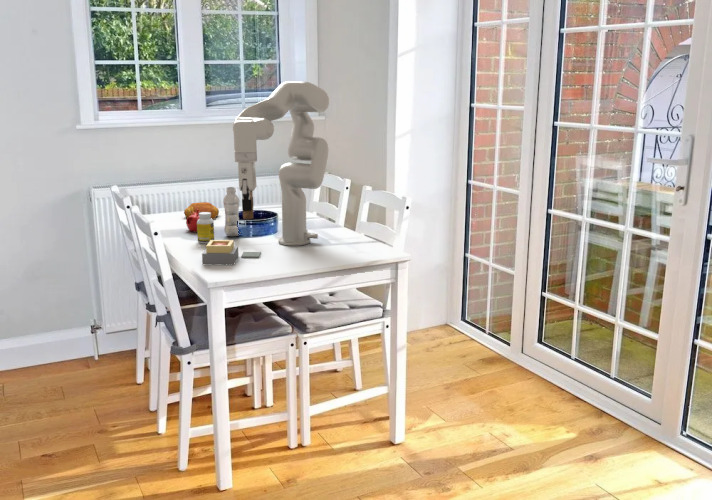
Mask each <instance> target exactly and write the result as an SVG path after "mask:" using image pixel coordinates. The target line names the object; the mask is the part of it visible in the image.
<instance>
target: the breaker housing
mask: <svg viewBox="0 0 712 500" xmlns="http://www.w3.org/2000/svg"><path fill="white" fill-rule="evenodd" d="M234 241H235V240H233V239H230V240H229V239H226V240H225V239H218V240H217V239H214V240H210V242H209V243H206V246H205V247H206V248H205V249H204V250H203V251H202V254H201V256H202V257H201V258H202V265H203V264H224V265H223V266H230V265H231V264H232V265H231V266H234V265H235V264H236V262H237V260H238V258H239V246H238V245H235V242H234ZM215 243H226V244H227V245H214V244H215ZM234 263H235V264H234ZM226 264H227V265H226ZM229 264H230V265H229ZM233 264H234V265H233Z"/></svg>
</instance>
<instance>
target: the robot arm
mask: <svg viewBox="0 0 712 500" xmlns="http://www.w3.org/2000/svg"><path fill="white" fill-rule="evenodd" d="M329 106H330V97H329V95H328V93H327V92H326V91H325V90H324V89H323V88H321V87H319V86H317V85H316V84H314V83H311V82H309V81H303V80H302V81H299V80H298V81H293V80H292V81H291V80H290V81H289V80H287V81H284V82H282V83H280V84H279V85H278V86H277V87H276V89H275V90H274V91H273V92H272V93H271V94H270V95H269V96H268V97H267V98H266V99H264V100H261V101H258V102H257V103H255V104H253V105H252V104H251V105H250V106H248V107H246V108H245V109H243V110H242V111H241V112H240V113H239V114H238V115H237V116H236V118H235V120H234V122H233V124H232V131H233V147H234V149H233V150H234V151H233V152H234V162H236V163H237V168H238V169H237V171H238V175H237V176H238V189H239V191H241V206H242V207H241V210H242V212H243V211H252V200H251V195H250V190H252V192H253V191H255V190H256V188H257V173H256V163H255V162H257V161H258V153H257V148H258V147H257V141H266V140H269V139H271V137H272V136H273V134H274V131H275V126H274V124H273V122H274V121H277V120H281V119H282V118H283V117H284V116H285V115H286V114H287V113H288V112H289V114H290V116H291V120H292V127H291V128H292V129H291V132H290V138H289V142H288V147H287V155H288V157H289V159H291V160H294V161H299V162H286V163H283V164H282V165H281V166H280V167H279V168H278V169H279V170H278V179H279V184H280V190H281V193H280V194H281V219H282V220H281V225H282V226H281V227H282V228H281V229H282V230H281V231H282V233H281V234H282V236H281V237H280V238H279V239H278V244H279V245H280V244H281V245H284V246H289V247H291V246H292V247H293V246H294V247H296V246H305V245H308V244H310V243H311V239H318V238H319V237H318V233H315V232H308V231H309V230H308V229H307V196H306V194H305V192H304V190H303V189H309V190H316V189H319V188H320V187H321V186H322V184H323V181H324V178H325V173H326V167H327V162H328V157H329V144H328V142H327V140H326V139H325V138H323V137H319V136H314V131H315V124H314V122H313V119H312V118H311V116H310V115H309V113H318V114H319V113H324V112H325V111H327V110H328V108H329ZM272 121H273V122H272ZM302 162H310V163H302ZM247 189H249V191H247ZM247 192H249V194H248V193H247Z"/></svg>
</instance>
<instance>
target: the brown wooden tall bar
mask: <svg viewBox="0 0 712 500" xmlns="http://www.w3.org/2000/svg"><path fill="white" fill-rule="evenodd" d="M247 191H249V189H247ZM247 193H248V194H249V192H247ZM253 193H254V192H253V191H252V190H250V195H251V200H252V211H243V210H242V219H244V220H252V219H254V196H253Z"/></svg>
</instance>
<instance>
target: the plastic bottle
mask: <svg viewBox="0 0 712 500" xmlns="http://www.w3.org/2000/svg"><path fill="white" fill-rule="evenodd" d="M225 192H226V195H225V196H224V198H223V201H222V202H223V207H224V214H225V215H224V216H225V219H224V220H225V221H224V222H225V223H224V234H225V235H226V236H228V237H238V236H239V235H240V234H239V233H238V231H239V230H238V227H237V221H238V220H239V221H240V217H239V213H240V211H239V209H240V208H239V207H240V199H239V196H238V195H237V190H236V187H234V186H229V187H226V191H225ZM238 234H239V235H238Z"/></svg>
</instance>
